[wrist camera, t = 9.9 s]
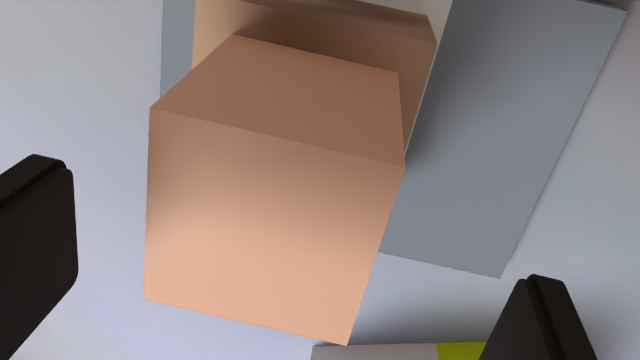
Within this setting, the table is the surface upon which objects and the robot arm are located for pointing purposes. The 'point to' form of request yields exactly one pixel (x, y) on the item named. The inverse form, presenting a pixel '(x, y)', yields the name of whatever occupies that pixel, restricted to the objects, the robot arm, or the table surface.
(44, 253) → the robot arm
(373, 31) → the base block
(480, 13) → the build mat
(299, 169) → the top block
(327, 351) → the puzzle toy
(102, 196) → the table surface
